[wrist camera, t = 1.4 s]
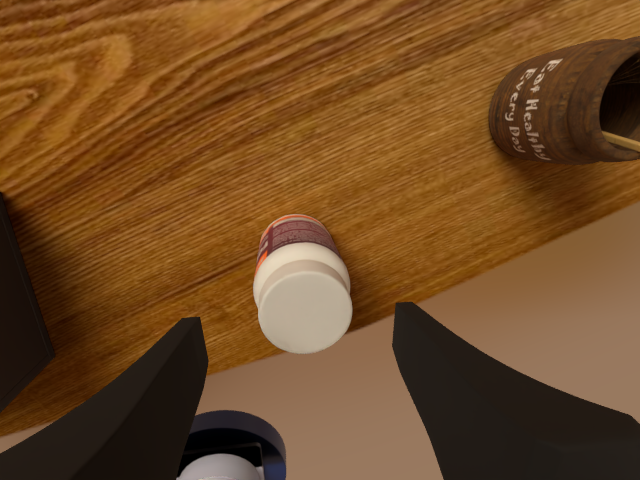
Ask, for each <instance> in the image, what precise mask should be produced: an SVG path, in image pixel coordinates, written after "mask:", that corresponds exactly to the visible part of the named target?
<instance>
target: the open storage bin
mask: <svg viewBox="0 0 640 480" xmlns="http://www.w3.org/2000/svg"><path fill="white" fill-rule="evenodd" d="M54 358H55V354H54V351H53V348H52V345H51V342H50V339H49V336H48V333H47V330H46V327H45V324H44V321H43V318H42V315H41V312H40V309H39V306H38V303H37V300H36V297H35V294H34V291H33V288H32V285H31V282H30V279H29V276H28V273H27V270H26V267H25V264H24V261H23V258H22V255H21V252H20V249H19V246H18V243H17V240H16V237H15V234H14V231H13V228H12V226H11V223H10V220H9V217H8V214H7V211H6V208H5V205H4V202H3V199H2V196H1V193H0V412H1V411H2V410H3V409H4V408H5V407H6V406H7V405H8V404H9V403H10V402H11V401H12V400H13V399H14V398H15V397H16V396H17V395H18V394H19V393H20V392H21V391H22V390H23V389H24V388H25V387H26V386H27V385H28V384H29V383H30V382H31V381H32V380H33V379H34V378H35V377H36V376H37V375H38V374H39V373H40V372H41V371H42V370H43V369H44V368H45V367H46V366H47V365H48V364H49V363H50V361H52V360H53V359H54Z"/></svg>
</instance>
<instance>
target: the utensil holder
mask: <svg viewBox="0 0 640 480" xmlns="http://www.w3.org/2000/svg"><path fill="white" fill-rule="evenodd" d="M489 125H490V130H491V134H492V136H493V138H494V140H495V142H496V143H497V145H498V146H499V147H500V148H501V149H502V150H503V151H505V152H506V153H508V154H510V155H512V156H514V157H518V158H521V159H526V160H532V161H540V162H548V163H557V164H569V165H581V164H590V163H595V162H598V161H602V162H622V161H632V160H637V159H640V36H638V37H633V38H628V39H625V40H619V39H602V40H595V41H590V42H586V43H581V44H578V45H574V46H570V47H567V48H563V49H560V50H556V51H553V52H549V53H546V54H543V55H540V56H537V57H534V58H532V59H529V60H527V61H525V62H523V63H522V64H520V65H518V66H517V67H516V68H514V69H513V70H512V71H511V72H510V73H509V74H508V75H507V76H506V77H505V78H504V79H503V80H502V82H501V83H500V84H499V86H498V88H497V89H496V91H495V93H494V96H493V98H492V101H491V105H490V110H489Z"/></svg>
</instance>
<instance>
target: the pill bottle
mask: <svg viewBox="0 0 640 480" xmlns="http://www.w3.org/2000/svg"><path fill="white" fill-rule="evenodd" d="M253 293H254V299H255V302H256V305H257V307H258V309H259V310H258V317H259V323H260V326H261V329H262V331H263V333H264V335H265V336H266V337H267V339H268V340H269V341H270V342H271V343H272V344H274V345H275V346H277V347H278V348H280V349H282V350H285V351H287V352H291V353H297V354H309V353H314V352H319V351H322V350H324V349H326V348H328V347H330V346H331V345H333V344H335V343H336V342H337V341H338V340H339V339H340V338H341V337H342V336H343V335H344V334H345V332H346V331H347V329H348V327H349V325H350V322H351V318H352V301H351V297H350V278H349V274H348V271H347V268H346V265H345V264H344V262H343V260H342V258H341V256H340V254H339V252H338V250H337V248H336V246H335V244H334V242H333V240H332V238H331V235H330V234H329V232H328V231H327V229H326V228H325V226H324V225H323V224H322V223H320V222H319V221H318V220H316V219H314V218H312V217H310V216H307V215H302V214H291V215H286V216H283V217H281V218H279V219H277V220H275V221H274V222H272V223H271V224H270V225H269V226H268V228H267V229H266V230H265V232H264V233H263V235H262V238H261V241H260V245H259V252H258V258H257V265H256V271H255V277H254V284H253Z"/></svg>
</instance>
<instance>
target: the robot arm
mask: <svg viewBox="0 0 640 480" xmlns="http://www.w3.org/2000/svg"><path fill="white" fill-rule="evenodd" d="M392 347H393V350H394V354H395V357H396V361H397V364H398V367H399V370H400V373H401V375H402V377H403V380H404V382H405V384H406V386H407V389H408V391H409V393H410V395H411V397H412V399H413V402H414V404H415V406H416V408H417V411H418V412H419V415H420V417H421V419H422V421H423V424H424V426H425V428H426V431H427V433H428V435H429V438H430V441H431V443H432V446H433V449H434V452H435V455H436V458H437V461H438V464H439V467H440V470H441V473H442V476H443V479H444V480H640V424H639V423H638V422H637V421H636V420H635V419H634V418H633V417H632V416H630V415H628V414H625V413H622V412H619V411H616V410H613V409H610V408H607V407H604V406H601V405H598V404H595V403H592V402H589V401H586V400H584V399H581V398H578V397H575V396H573V395H570V394H568V393H566V392H563V391H560V390H558V389H555V388H553V387H551V386H548V385H546V384H544V383H541V382H539V381H537V380H535V379H533V378H531V377H529V376H527V375H524V374H522V373H520V372H518V371H516V370H514V369H512V368H510V367H508V366H506V365H505V364H503V363H501V362H499V361H497V360H495V359H494V358H492V357H490V356H488V355H487V354H485V353H483V352H482V351H480V350H478V349H477V348H475V347H474V346H472V345H470V344H469V343H468V342H466V341H465V340H463V339H462V338H460V337H459V336H457V335H456V334H454V333H453V332H452V331H450V330H449V329H447V328H446V327H445V326H443V325H442V324H441V323H439V322H438V321H436V320H435V319H434V318H433V317H431V316H430V315H429V314H427V313H426V312H425V311H423V310H422V309H421V308H420V307H418V306H417V305H416V304H414V303H413V302H401V303H396V306H395V319H394V331H393V343H392ZM207 367H208V356H207V351H206V346H205V341H204V335H203V330H202V325H201V320H200V317H190V318H182V319H181V320H180V321H179V322H178V323H176V324H175V325H174V326H173V327H172V328H171V329H170V330H169V331H168V332H167V333H166V334H165V335H164V336H163V337H162V338H161V339H160V340H159V341H158V342H157V343H156V344H154V345H153V346H152V347H151V348H150V349H149V350H148V351H147V352H146V353H145V354H144V355H143V356H142V357H140V358H139V359H138V360H137V361H136V362H135V363H133V364H132V365H131V366H130V367H129V368H128V369H126V370H125V371H124V372H123V373H122V374H121V375H119V376H118V377H117V378H116V379H115V380H113V381H112V382H111V383H109V384H108V385H107V386H106V387H104V388H103V389H102V390H100V391H99V392H98V393H96V394H95V395H93V396H92V397H91V398H89V399H88V400H87V401H85V402H84V403H82V404H81V405H79V406H78V407H76V408H75V409H73V410H72V411H70V412H69V413H67V414H66V415H64V416H63V417H61V418H59V419H58V420H56V421H55V422H53V423H52V424H50V425H49V426H47V427H46V428H44V429H42V430H41V431H39V432H37V433H36V434H34V435H32V436H30V437H29V438H27V439H25V440H24V441H22V442H20V443H18V444H17V445H15V446H13V447H11V448H9V449H8V450H6V451H4V452H2V453H0V480H265V477H264V468H263V459H262V450H261V444H260V443H258V442H252V443H244V444H235V445H227V446H219V447H211V448H203V449H195V450H187V451H183V450H184V447H185V444H186V441H187V438H188V435H189V432H190V429H191V426H192V423H193V420H194V417H195V413H196V410H197V407H198V404H199V401H200V398H201V395H202V391H203V388H204V383H205V378H206V373H207Z"/></svg>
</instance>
